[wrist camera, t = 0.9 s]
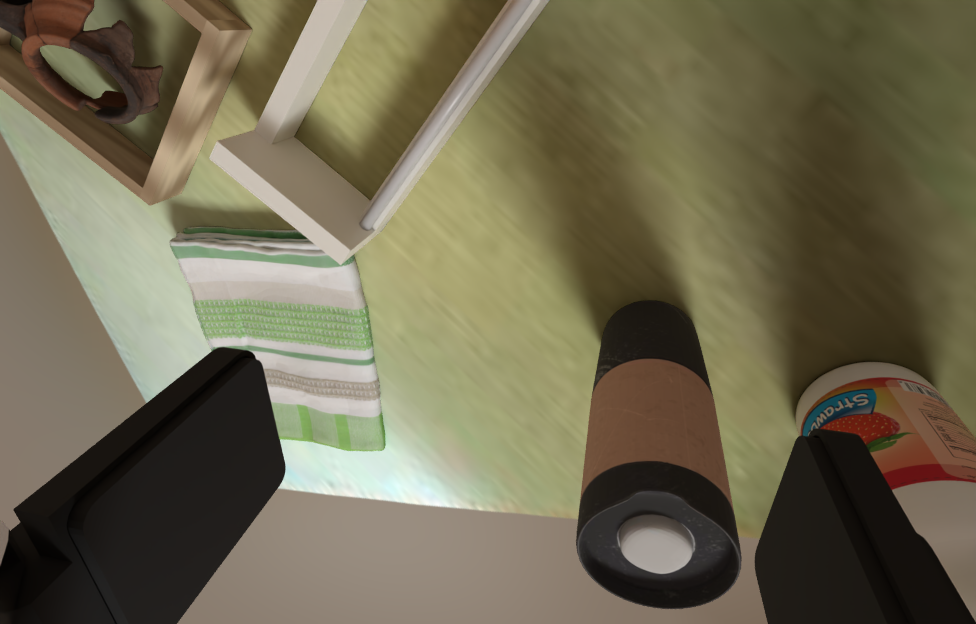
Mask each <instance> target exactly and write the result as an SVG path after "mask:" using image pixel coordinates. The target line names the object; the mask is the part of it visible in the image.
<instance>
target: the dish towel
mask: <svg viewBox="0 0 976 624" xmlns="http://www.w3.org/2000/svg"><path fill="white" fill-rule="evenodd" d="M183 231H184V233H180V232H178V233H177V238H173V239H172V240H170V246H171V249H172V251H173V253H174V255H175V257H176V258H177V260H178V262H179V266H180V269H181V271H182V273H183V275H184V277H185V279H186V281H187V283H188V285H189V286H190V289H191V291H192V295H193V303H194V306H195V311H196V314H197V317H198V320H199V322H200V325H201V328H202V331H203V333H204V335H205V338H206V340H207V341H208V343H209V346H210V348H211V350H212V351H213V350H215V349H216V348H218V347H227V348H235V349H242V350H248V351H251V352H252V353H253V354H254V355H255V357H256V359H257V360H259V361H260V362H261V363H262V365H263V369H264V373H265V378H266V382H267V387H268V391H269V395H270V400H271V404H272V409H273V413H274V417H275V422H276V426H277V431H278V435H279V439H288V440H298V441H309V442H314V443H318V444H323V445H327V446H331V447H334V448H338V449H342V450H347V451H382V450H384V448H385V430H384V425H383V417H382V409H381V401H380V385H379V378H378V374H377V369H376V364H375V360H374V350H373V341H372V334H371V326H370V320H369V312H368V307H367V304H366V301H365V297H364V293H363V290H362V285H361V281H360V276H359V271H358V268H357V265H356V262H355V259H354V254H353V255H352V256H351V257H350V258H349V259H347V260H346V261H345V262H344V263H343V264H341V265H340V264H339V263H337V262H336V261H335V260H334V259H332V258H331V257H330V256H329V255H327V254H326V253H325V252H324V251H322V250H321V249H320V248H319V247H318V246H316V245H315V244H314V243H313V242H311V241H310V240H309V239H308V238H306V237H305V236H304V235H303V234H302V233H300V232H299V231H298V230H255V229H231V228H226V227H194V228H193V227H190V228H185V229H184V230H183Z"/></svg>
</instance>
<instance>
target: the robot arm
mask: <svg viewBox="0 0 976 624" xmlns="http://www.w3.org/2000/svg"><path fill="white" fill-rule="evenodd" d="M284 475H285V461H284V457H283V453H282V448H281V444H280V439H279V435H278V431H277V426H276V422H275V417H274V413H273V409H272V404H271V400H270V395H269V391H268V387H267V382H266V378H265V373H264V369H263V365H262V363H261V362H260V361H259V360H257V359H256V357H255V355H254V354H253V353H252V352H251V351H248V350H242V349H235V348H227V347H218V348H216V349H215V350H213V351H212V352H211V353H209V354H208V355H207V356H205V357H204V358H203V359H202V360H200V361H199V362H198V363H197V364H195V365H194V366H193V367H192V368H190V369H189V370H188V371H187V372H185V373H184V374H183V375H182V376H180V377H179V378H178V379H177V380H175V381H174V382H173V383H172V384H170V385H169V386H168V387H167V388H165V389H164V390H163V391H161V392H160V393H159V394H158V395H156V396H155V397H154V398H153V399H151V400H150V401H149V402H148V403H146V404H145V405H144V406H143V407H141V408H140V409H139V410H138V411H136V412H135V413H134V414H133V415H131V416H130V417H129V418H128V419H126V420H125V421H124V422H123V423H121V424H120V425H119V426H118V427H116V428H115V429H114V430H112V431H111V432H110V433H109V434H107V435H106V436H105V437H104V438H102V439H101V440H100V441H99V442H97V443H96V444H95V445H94V446H92V447H91V448H90V449H89V450H87V451H86V452H85V453H84V454H82V455H81V456H80V457H79V458H77V459H76V460H75V461H74V462H72V463H71V464H70V465H68V466H67V467H66V468H65V469H63V470H62V471H61V472H60V473H58V474H57V475H56V476H55V477H53V478H52V479H51V480H50V481H48V482H47V483H46V484H45V485H43V486H42V487H41V488H40V489H38V490H37V491H36V492H34V493H33V494H32V495H31V496H29V497H28V498H27V499H26V500H25V501H23V502H22V503H21V504H20V505H18V506H17V507H16V508H14V512H15V513H16V515H17V517H18V519H19V520H20V523H19V524H18V525H17V526H16V527H15V528H13V529H12V530H11V531H10V530H9V529H8V527H7V526H6V525H5V524H4V522H3V521H0V624H177V623H178V621H179V620H180V619H181V617H182V616H183V615H184V613H185V612H186V611H187V609H188V608H189V607H190V605H191V604H192V603H193V601H194V600H195V598H196V597H197V596H198V595H199V593H200V592H201V591H202V589H203V588H204V586H205V585H206V584H207V582H208V581H209V580H210V578H211V577H212V576H213V574H214V573H215V572H216V570H217V569H218V567H219V566H220V565H221V564H222V562H223V561H224V560H225V558H226V557H227V555H228V554H229V553H230V552H231V550H232V549H233V548H234V546H235V545H236V543H237V542H238V541H239V539H240V538H241V537H242V535H243V534H244V533H245V531H246V530H247V529H248V527H249V526H250V525H251V523H252V522H253V521H254V519H255V518H256V516H257V515H258V514H259V512H260V511H261V510H262V508H263V507H264V506H265V504H266V503H267V502H268V500H269V499H270V498H271V496H272V495H273V494H274V492H275V491H276V490H277V488H278V487H279V486H280V484H281V482H282V480H283V478H284ZM755 571H756V576H757V580H758V585H759V588H760V593H761V597H762V601H763V605H764V609H765V614H766V618H767V622H768V624H976V622H975V620H974V618H973V617H972V615H971V613H970V611H969V610H968V608H967V606H966V605H965V603H964V601H963V600H962V598H961V596H960V595H959V593H958V591H957V589H956V588H955V586H954V584H953V583H952V581H951V579H950V578H949V576H948V574H947V573H946V571H945V569H944V567H943V566H942V564H941V562H940V561H939V559H938V557H937V556H936V554H935V552H934V550H933V549H932V547H931V546H930V545H929V543H928V542H927V541H926V540H925V538H924V537H922V536H921V535H919V534H918V533H916V531H915V529H914V528H913V526H912V524H911V523H910V521H909V519H908V517H907V516H906V514H905V512H904V510H903V509H902V507H901V505H900V503H899V502H898V500H897V498H896V497H895V495H894V493H893V491H892V490H891V488H890V486H889V484H888V483H887V481H886V479H885V477H884V476H883V474H882V472H881V471H880V469H879V467H878V465H877V464H876V462H875V460H874V458H873V457H872V455H871V453H870V451H869V450H868V448H867V446H866V445H865V443H864V441H863V440H862V438H861V437H860V436H859V435H857V434H855V433H848V432H841V431H833V430H826V429H819V428H816V429H813V430H812V431H811V432H810V434H809V436H799V437H798V438H797V439H796V441H795V444H794V446H793V449H792V452H791V455H790V458H789V460H788V463H787V466H786V469H785V471H784V474H783V477H782V480H781V482H780V485H779V488H778V491H777V493H776V496H775V499H774V502H773V504H772V507H771V510H770V513H769V516H768V518H767V521H766V524H765V527H764V529H763V532H762V535H761V538H760V540H759V543H758V546H757V549H756V553H755Z"/></svg>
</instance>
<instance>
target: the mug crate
mask: <svg viewBox="0 0 976 624" xmlns="http://www.w3.org/2000/svg"><path fill="white" fill-rule="evenodd" d="M163 1H164V2H165V3H167V4H168V5H169V6H170V7H171V8H173V9H174V10H175V11H176V12H177V13H178V14H180V15H181V16H182V17H183V18H184V19H186V20H187V21H188V22H189V23H190V24H191V25H193V26H194V27H195V28H196V29H197V30H199V31H200V32H201V33H202V35H201V37H200V40H199V42H198V45H197V48H196V50H195V53H194V56H193V58H192V61H191V63H190V66H189V69H188V71H187V74H186V77H185V79H184V82H183V84H182V87H181V90H180V92H179V95H178V98H177V100H176V103H175V105H174V108H173V111H172V113H171V116H170V119H169V121H168V124H167V126H166V129H165V132H164V134H163V137H162V140H161V142H160V145H159V147H158V150H157V153H156V155H155V158H154V160H153V159H152V158H151V157H149V156H148V155H147V154H146V153H144V152H143V151H142V150H141V149H139V148H138V147H137V146H136V145H134V144H133V143H132V142H131V141H129V140H128V139H127V138H126V137H124V136H123V135H122V134H120V133H119V132H118V131H117V130H115V129H114V128H113V127H112V126H110V125H109V124H108V123H105V122H103V121H101V120H100V119H98V118H96V117H95V115H94V114H95V113H94V112H93V111H92V110H90V109H89V108H88V107H87V106H85V105H84V107H83V108H82V109H81V110H80V111H76V110H74V109H72V108H70V107H68V106H67V105H65V104H64V103H63V102H61V101H60V100H58V99H57V98H56V97H54V96H53V95H52V94H51V93H50V92H48V91H47V90H46V89H45V88H44V87H43V86H42V85H41V84H40V83H39V82H38V81H37V80H36V79H35V77H34V76H33V75H32V73H31V72H30V71H29V70H28V67H27V66H26V64H25V62H24V60H23V57H22V55H21V54H20V53H19V52H18V51H16V50H15V49H14V48H13V47H11V46H10V40H11V33H10V32H8V31H6V30H4V29H2V28H1V27H0V89H2V90H3V91H4V92H5V93H7V94H8V95H9V96H11V97H12V98H13V99H14V100H16V101H17V102H18V103H20V104H21V105H22V106H23V107H25V108H26V109H27V110H28V111H30V112H31V113H32V114H34V115H35V116H36V117H37V118H39V119H40V120H41V121H42V122H44V123H45V124H46V125H48V126H49V127H50V128H51V129H53V130H54V131H55V132H57V133H58V134H59V135H60V136H62V137H63V138H64V139H65V140H67V141H68V142H69V143H71V144H72V145H73V146H74V147H76V148H77V149H78V150H80V151H81V152H82V153H83V154H85V155H86V156H87V157H88V158H90V159H91V160H92V161H94V162H95V163H96V164H97V165H99V166H100V167H101V168H102V169H104V170H105V171H106V172H108V173H109V174H110V175H111V176H113V177H114V178H115V179H117V180H118V181H119V182H120V183H122V184H123V185H124V186H125V187H127V188H128V189H129V190H131V191H132V192H133V193H134V194H136V195H137V196H138V197H140V198H141V199H142V200H143V201H145V202H146V203H147V204H148V205H153V204H156V203H158V202H161V201H163V200H166V199H169V198H171V197H174V196H176V195H179V194H181V193H182V191H183V189H184V186H185V184H186V182H187V180H188V177H189V175H190V173H191V170H192V168H193V166H194V163H195V161H196V159H197V156H198V154H199V152H200V150H201V147H202V145H203V143H204V140H205V138H206V136H207V133H208V131H209V129H210V126H211V124H212V122H213V120H214V117H215V115H216V113H217V110H218V108H219V106H220V103H221V101H222V99H223V97H224V94H225V92H226V90H227V87H228V85H229V83H230V80H231V78H232V76H233V73H234V71H235V69H236V67H237V64H238V62H239V60H240V57H241V55H242V53H243V50H244V48H245V46H246V43H247V41H248V39H249V37H250V34H251V32H252V29H251V28H250V27H249V26H247V25H246V24H245V23H244V22H243V21H242V20H241V19H239V18H238V17H237V16H236V15H235V14H234V13H232V12H231V11H230V10H229V9H228V8H227V7H225V6H224V5H223V4H222V3H221V2H220V1H218V0H163Z"/></svg>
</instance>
